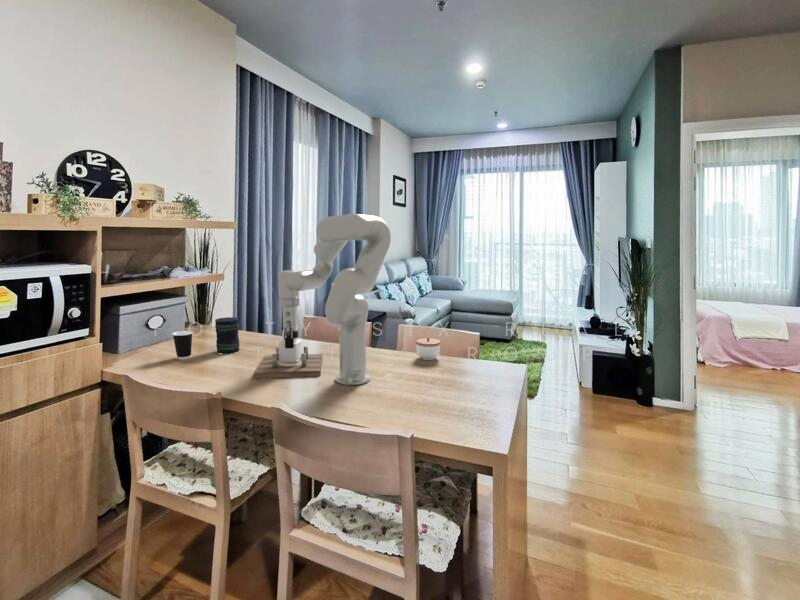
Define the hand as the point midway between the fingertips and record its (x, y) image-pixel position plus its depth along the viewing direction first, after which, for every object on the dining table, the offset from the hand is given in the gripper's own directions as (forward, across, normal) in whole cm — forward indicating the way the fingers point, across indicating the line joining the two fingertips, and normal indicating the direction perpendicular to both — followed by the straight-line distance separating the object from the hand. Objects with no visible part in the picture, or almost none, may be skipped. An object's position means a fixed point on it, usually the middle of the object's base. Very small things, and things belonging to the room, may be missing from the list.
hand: (290, 345), depth 168 cm
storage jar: (+10, +29, +31) cm, 44 cm away
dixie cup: (+9, +20, +47) cm, 52 cm away
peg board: (+9, 0, 0) cm, 9 cm away
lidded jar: (+10, +7, -58) cm, 59 cm away
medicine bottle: (+6, 0, 0) cm, 6 cm away
